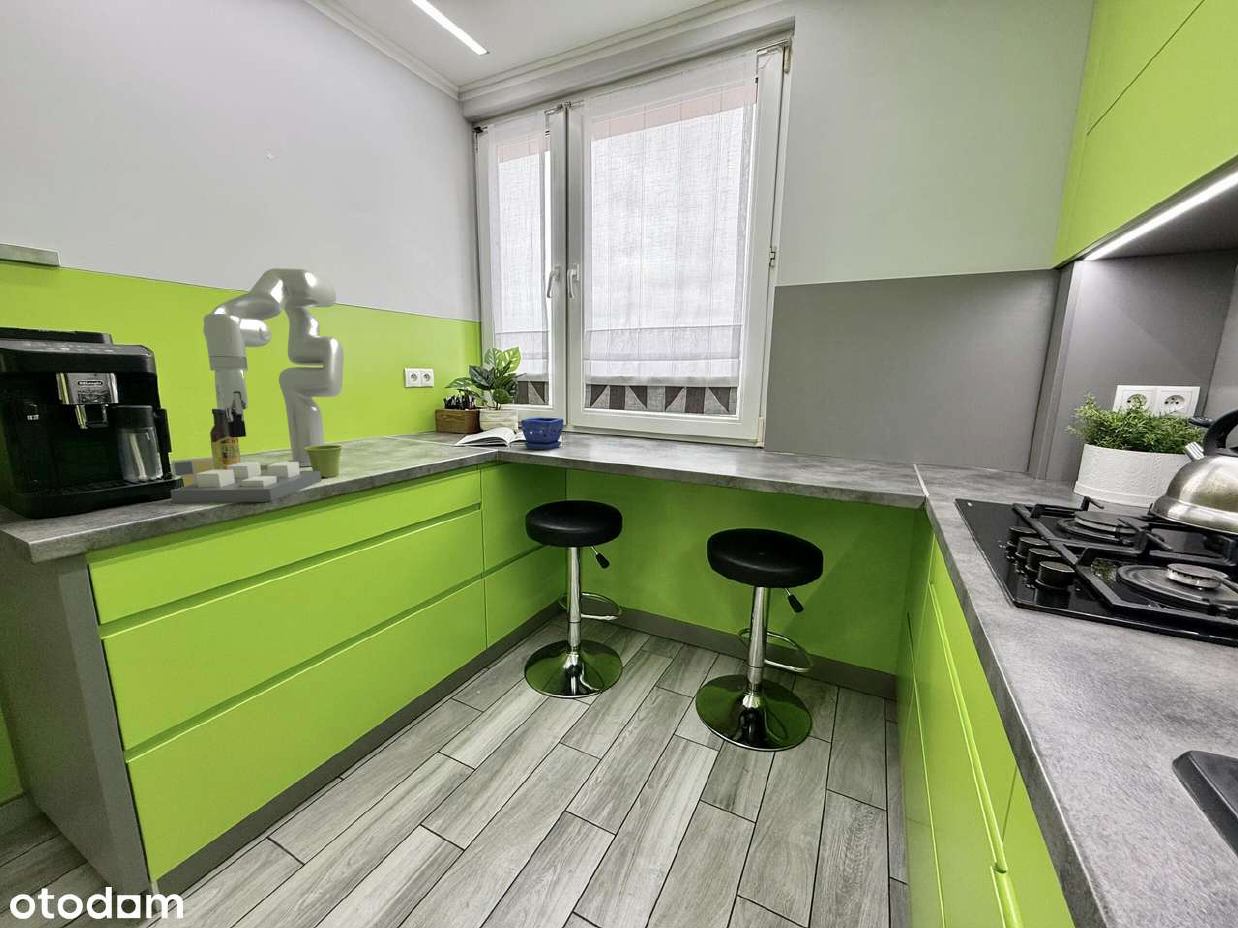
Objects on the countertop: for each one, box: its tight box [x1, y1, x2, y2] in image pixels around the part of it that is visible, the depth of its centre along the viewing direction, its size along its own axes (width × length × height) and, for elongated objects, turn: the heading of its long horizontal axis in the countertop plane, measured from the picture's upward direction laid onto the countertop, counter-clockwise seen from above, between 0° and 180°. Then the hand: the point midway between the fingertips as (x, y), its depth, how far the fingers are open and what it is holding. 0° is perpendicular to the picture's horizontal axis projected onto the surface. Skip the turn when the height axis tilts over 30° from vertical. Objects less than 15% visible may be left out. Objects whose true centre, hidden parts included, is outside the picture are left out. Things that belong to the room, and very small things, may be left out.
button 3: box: [241, 476, 277, 487], centre depth 119 cm, size 5×5×4 cm
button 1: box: [196, 470, 235, 487], centre depth 118 cm, size 5×5×4 cm
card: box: [170, 456, 214, 486], centre depth 125 cm, size 1×8×8 cm, turn 134°
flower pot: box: [520, 417, 564, 451], centre depth 196 cm, size 13×13×12 cm
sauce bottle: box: [209, 407, 242, 470], centre depth 139 cm, size 6×6×20 cm
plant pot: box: [305, 444, 343, 479], centre depth 141 cm, size 9×9×9 cm
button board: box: [169, 470, 322, 504], centre depth 123 cm, size 22×22×3 cm
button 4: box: [266, 461, 301, 478], centre depth 128 cm, size 5×5×4 cm
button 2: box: [227, 461, 262, 478], centre depth 128 cm, size 5×5×4 cm
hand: (238, 436), depth 125 cm, fingers closed
